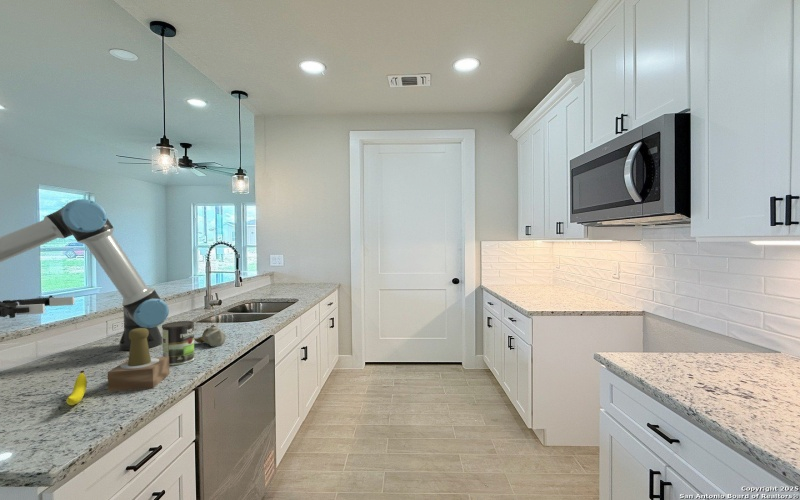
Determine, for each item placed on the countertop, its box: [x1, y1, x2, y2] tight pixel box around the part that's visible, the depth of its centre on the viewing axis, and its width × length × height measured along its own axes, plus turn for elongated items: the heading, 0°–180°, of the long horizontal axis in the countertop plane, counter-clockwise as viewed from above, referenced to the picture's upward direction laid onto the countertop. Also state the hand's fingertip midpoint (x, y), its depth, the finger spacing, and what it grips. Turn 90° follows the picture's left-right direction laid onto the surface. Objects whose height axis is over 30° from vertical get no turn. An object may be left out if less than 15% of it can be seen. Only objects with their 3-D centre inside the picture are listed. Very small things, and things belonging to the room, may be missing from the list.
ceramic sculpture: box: [194, 324, 227, 348], centre depth 157 cm, size 11×9×15 cm
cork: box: [127, 328, 152, 366], centre depth 114 cm, size 6×6×11 cm
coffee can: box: [161, 320, 196, 366], centre depth 135 cm, size 10×10×14 cm
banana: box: [65, 370, 88, 406], centre depth 100 cm, size 3×19×6 cm, turn 34°
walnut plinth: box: [107, 356, 171, 393], centre depth 115 cm, size 12×12×6 cm
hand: (59, 304), depth 114 cm, fingers open, 13 cm apart
